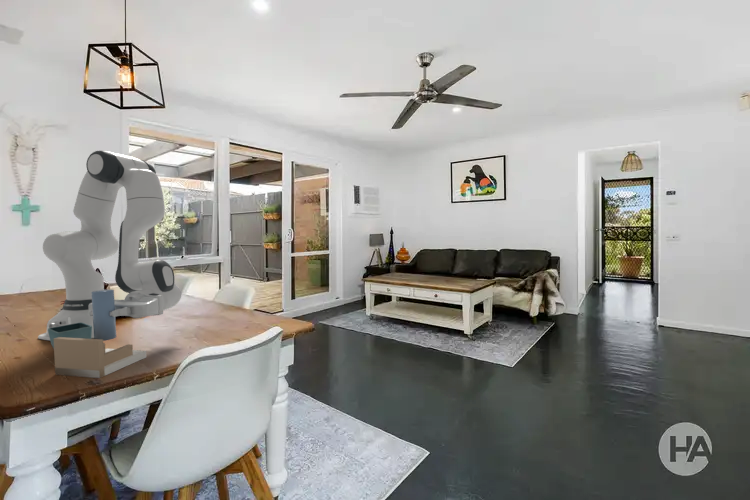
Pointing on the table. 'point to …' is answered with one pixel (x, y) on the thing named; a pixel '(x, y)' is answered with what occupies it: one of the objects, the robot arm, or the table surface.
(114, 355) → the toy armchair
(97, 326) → the light blue cylinder
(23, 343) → the table surface
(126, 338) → the table surface
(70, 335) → the flower pot
